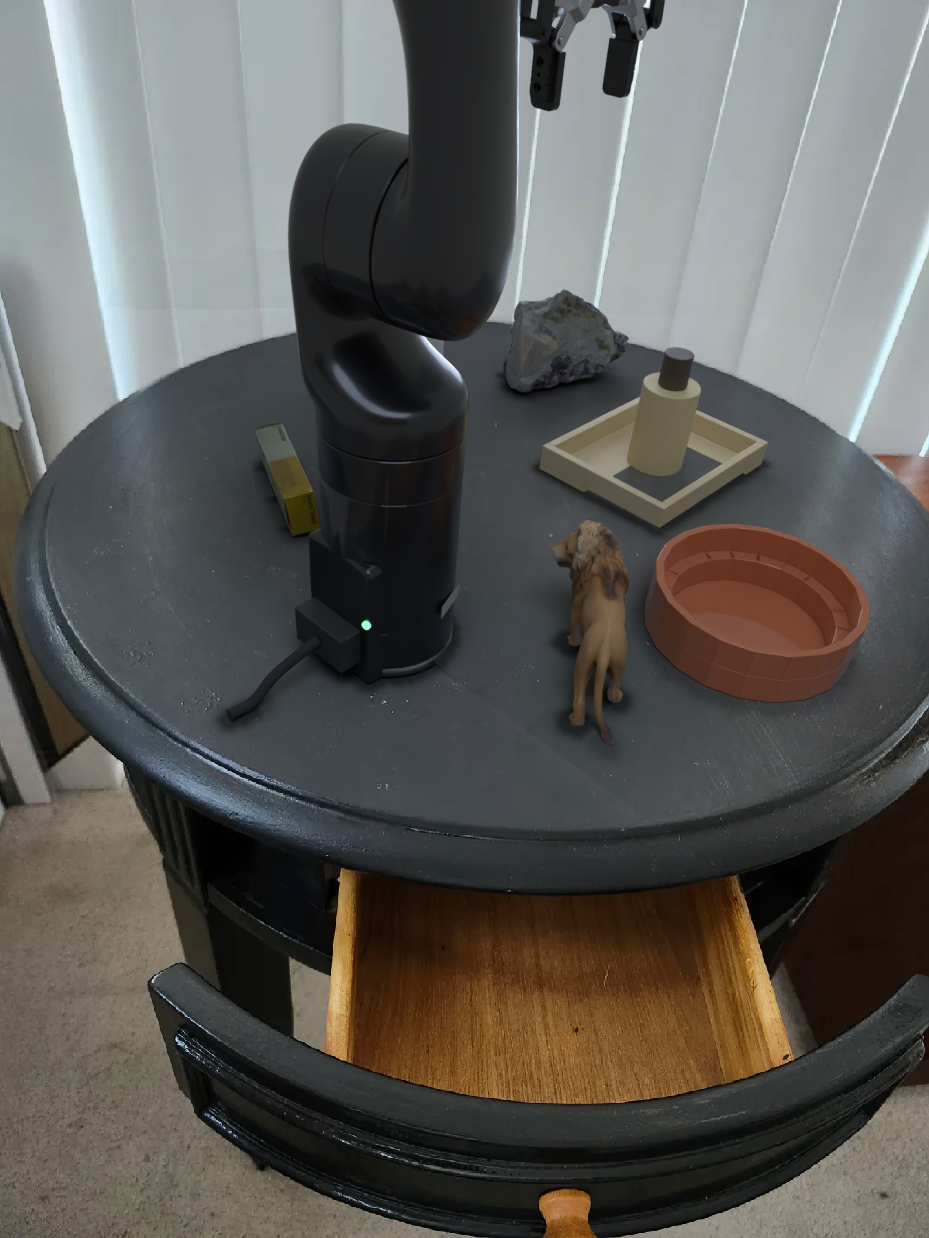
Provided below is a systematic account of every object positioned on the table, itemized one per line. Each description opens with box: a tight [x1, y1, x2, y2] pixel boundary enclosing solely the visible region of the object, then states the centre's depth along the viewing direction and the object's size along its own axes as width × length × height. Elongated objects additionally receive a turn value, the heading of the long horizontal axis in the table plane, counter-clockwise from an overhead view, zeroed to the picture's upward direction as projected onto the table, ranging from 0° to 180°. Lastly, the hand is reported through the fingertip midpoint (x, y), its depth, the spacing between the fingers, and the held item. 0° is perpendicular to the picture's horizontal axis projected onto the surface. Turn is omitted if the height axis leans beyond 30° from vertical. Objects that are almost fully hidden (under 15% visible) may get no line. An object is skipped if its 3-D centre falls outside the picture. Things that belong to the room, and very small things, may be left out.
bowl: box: [644, 523, 871, 704], centre depth 69 cm, size 15×15×5 cm
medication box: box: [254, 421, 320, 537], centre depth 79 cm, size 12×3×4 cm, turn 21°
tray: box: [538, 396, 769, 528], centre depth 87 cm, size 18×14×2 cm
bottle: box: [627, 346, 702, 477], centre depth 84 cm, size 5×5×11 cm
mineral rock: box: [502, 288, 630, 393], centre depth 97 cm, size 13×11×10 cm
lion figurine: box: [550, 519, 630, 746], centre depth 63 cm, size 15×5×9 cm, turn 6°
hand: (580, 102), depth 69 cm, fingers open, 8 cm apart
